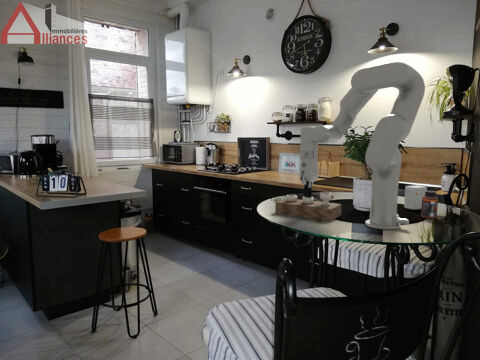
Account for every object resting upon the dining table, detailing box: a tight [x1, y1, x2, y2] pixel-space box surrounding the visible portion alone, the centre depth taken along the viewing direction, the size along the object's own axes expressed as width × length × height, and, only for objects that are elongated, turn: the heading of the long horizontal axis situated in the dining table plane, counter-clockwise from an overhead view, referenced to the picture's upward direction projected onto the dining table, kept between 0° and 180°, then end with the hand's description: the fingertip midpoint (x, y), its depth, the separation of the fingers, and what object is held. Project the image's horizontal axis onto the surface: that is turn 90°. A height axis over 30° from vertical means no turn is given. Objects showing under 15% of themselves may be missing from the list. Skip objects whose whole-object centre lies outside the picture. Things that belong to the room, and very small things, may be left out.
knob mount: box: [274, 198, 342, 222], centre depth 155 cm, size 26×12×5 cm, turn 55°
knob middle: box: [302, 196, 315, 204], centre depth 154 cm, size 5×5×7 cm
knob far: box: [285, 194, 298, 202], centre depth 159 cm, size 5×5×7 cm
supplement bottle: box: [420, 190, 439, 220], centre depth 147 cm, size 6×6×11 cm
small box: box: [403, 185, 428, 210], centre depth 167 cm, size 8×6×10 cm
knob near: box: [319, 191, 332, 206], centre depth 149 cm, size 5×5×7 cm
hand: (307, 196), depth 154 cm, fingers closed
